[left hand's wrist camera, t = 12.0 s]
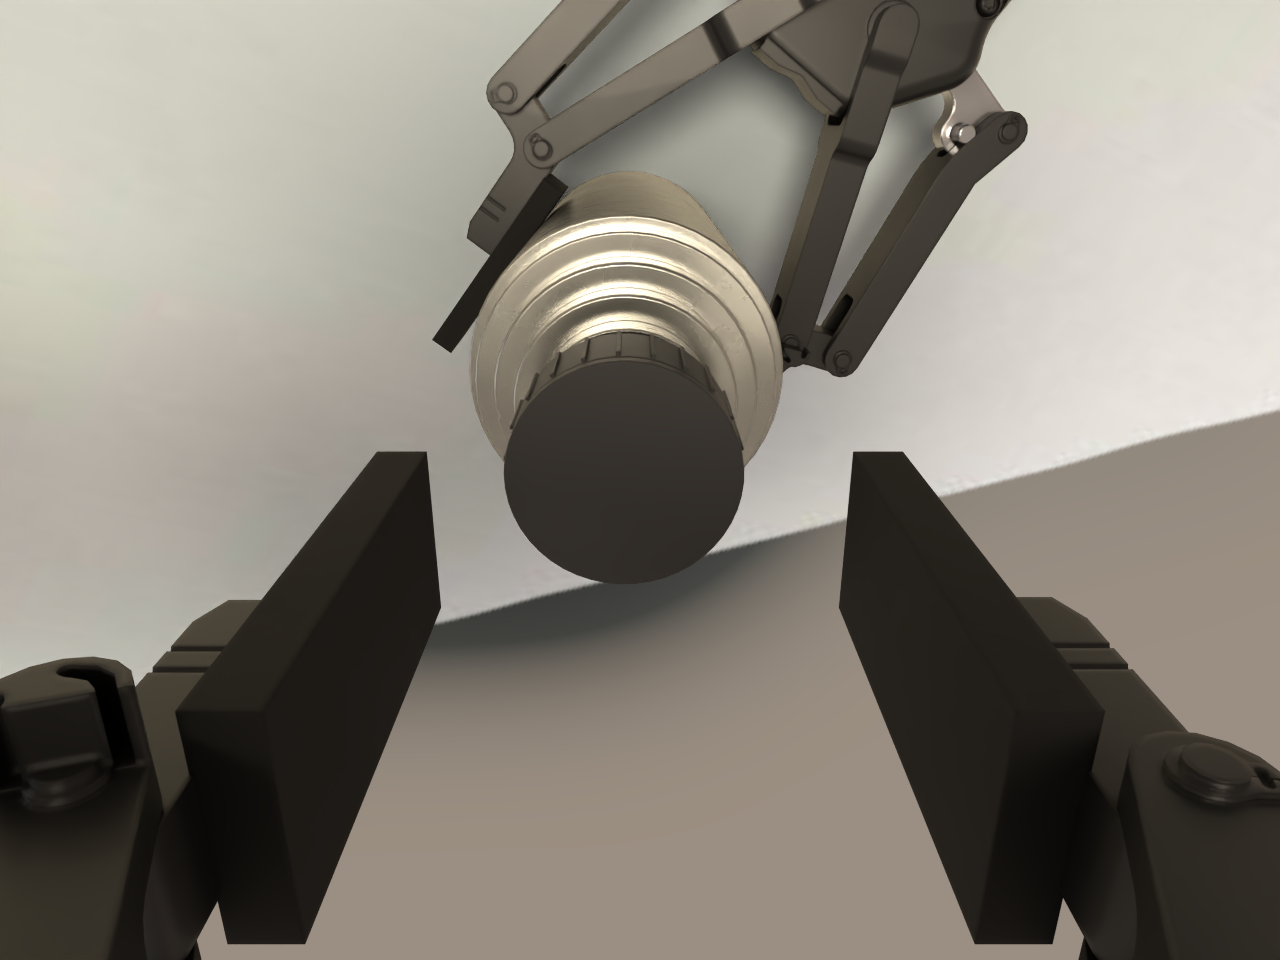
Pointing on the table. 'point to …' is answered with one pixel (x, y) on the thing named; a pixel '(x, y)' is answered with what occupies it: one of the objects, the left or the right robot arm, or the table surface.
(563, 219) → the bottle
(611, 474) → the cap
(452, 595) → the table surface
